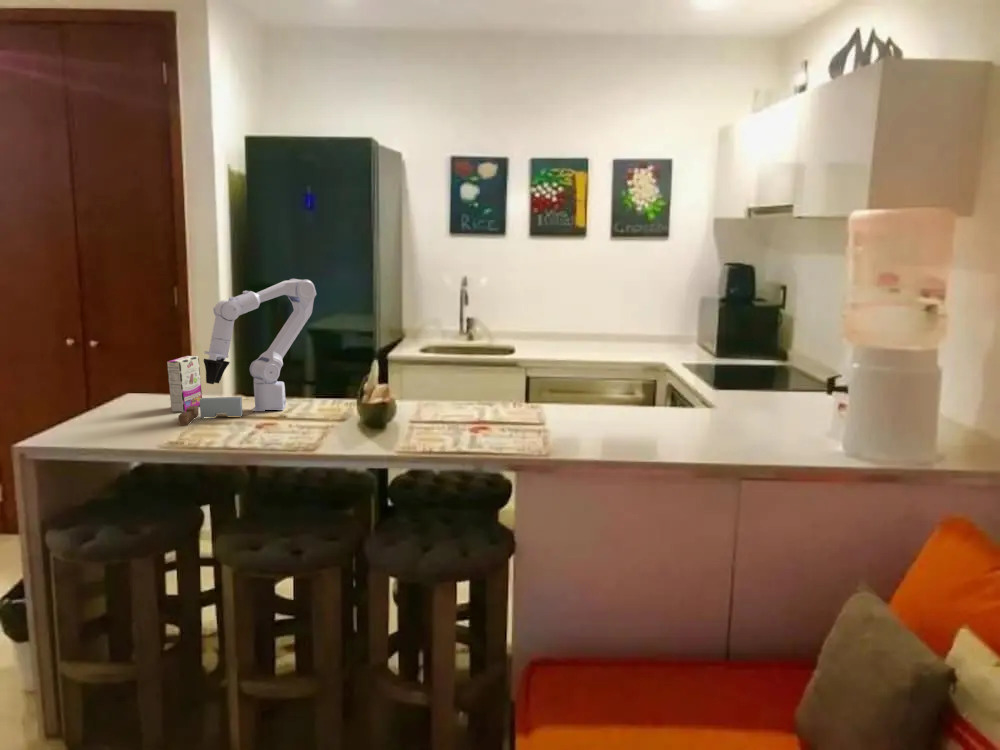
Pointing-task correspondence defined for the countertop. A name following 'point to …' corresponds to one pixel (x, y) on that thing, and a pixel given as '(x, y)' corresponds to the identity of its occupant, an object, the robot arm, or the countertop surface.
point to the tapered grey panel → (221, 406)
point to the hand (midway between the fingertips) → (212, 383)
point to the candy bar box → (184, 383)
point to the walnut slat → (188, 415)
